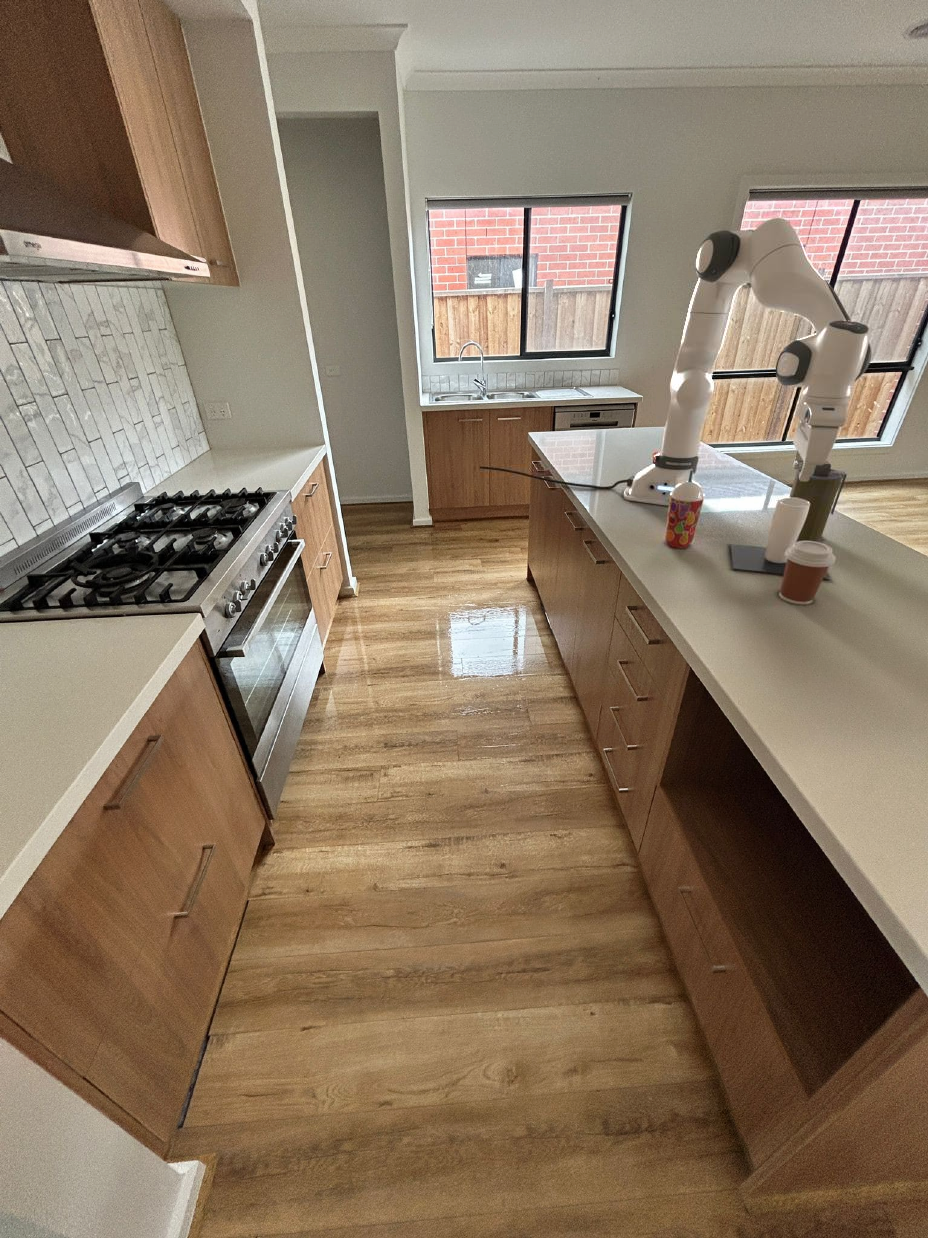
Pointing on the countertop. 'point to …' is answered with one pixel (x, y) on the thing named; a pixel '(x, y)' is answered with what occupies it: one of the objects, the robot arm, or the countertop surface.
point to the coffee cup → (805, 570)
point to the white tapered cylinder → (785, 527)
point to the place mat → (755, 560)
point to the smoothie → (683, 513)
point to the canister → (818, 498)
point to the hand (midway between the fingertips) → (800, 474)
